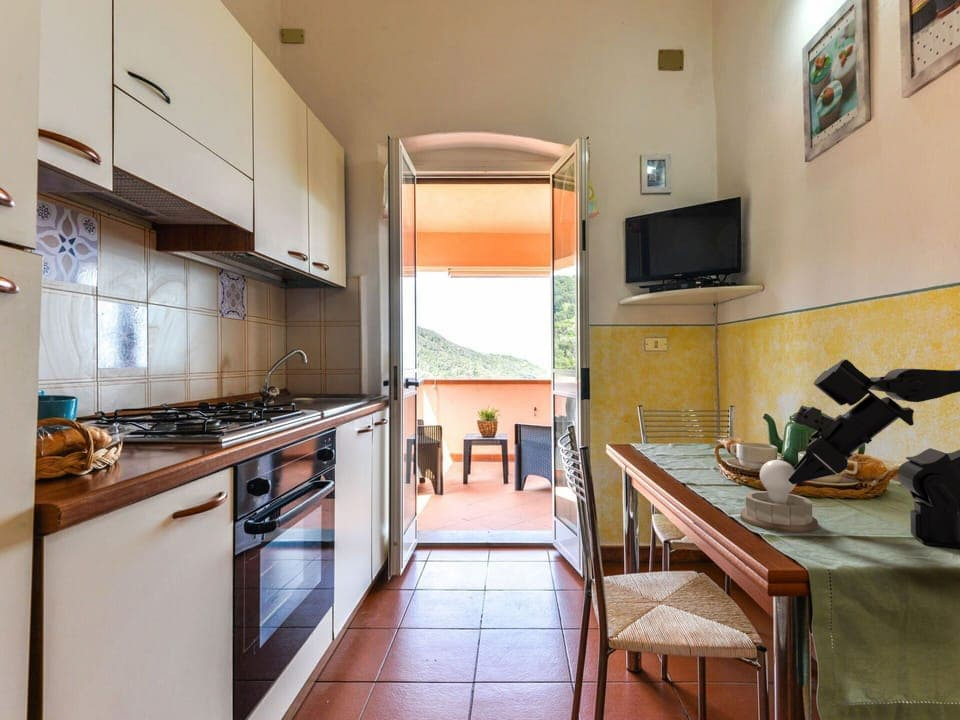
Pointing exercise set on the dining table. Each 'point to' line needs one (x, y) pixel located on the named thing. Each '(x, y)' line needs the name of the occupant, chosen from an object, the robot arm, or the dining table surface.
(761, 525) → the holder
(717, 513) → the dining table surface
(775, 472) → the lightbulb
